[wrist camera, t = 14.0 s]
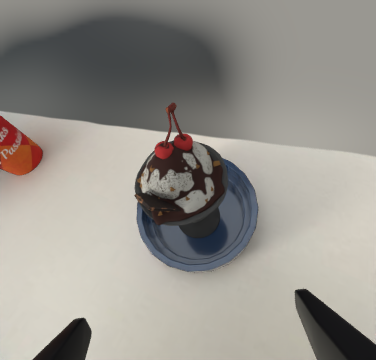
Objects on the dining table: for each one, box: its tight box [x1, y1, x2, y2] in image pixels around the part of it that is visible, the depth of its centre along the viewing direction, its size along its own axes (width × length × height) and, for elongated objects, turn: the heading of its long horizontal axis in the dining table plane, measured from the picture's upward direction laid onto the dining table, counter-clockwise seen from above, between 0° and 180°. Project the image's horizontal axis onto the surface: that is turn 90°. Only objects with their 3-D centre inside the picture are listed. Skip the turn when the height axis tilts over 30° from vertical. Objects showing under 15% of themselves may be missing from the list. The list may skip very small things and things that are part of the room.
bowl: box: [137, 158, 258, 273], centre depth 22 cm, size 12×12×4 cm
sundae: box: [135, 103, 228, 238], centre depth 17 cm, size 7×7×15 cm
